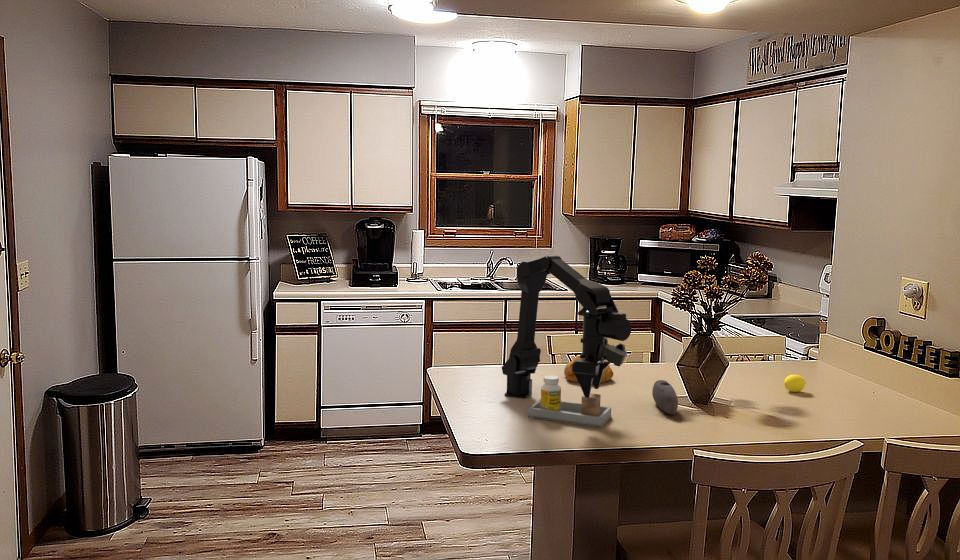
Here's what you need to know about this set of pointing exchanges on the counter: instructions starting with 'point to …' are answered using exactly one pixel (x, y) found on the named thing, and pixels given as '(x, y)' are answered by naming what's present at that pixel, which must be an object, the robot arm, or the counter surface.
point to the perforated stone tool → (665, 396)
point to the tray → (570, 414)
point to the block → (591, 405)
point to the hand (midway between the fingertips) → (591, 392)
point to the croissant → (571, 376)
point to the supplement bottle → (551, 394)
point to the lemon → (794, 383)
